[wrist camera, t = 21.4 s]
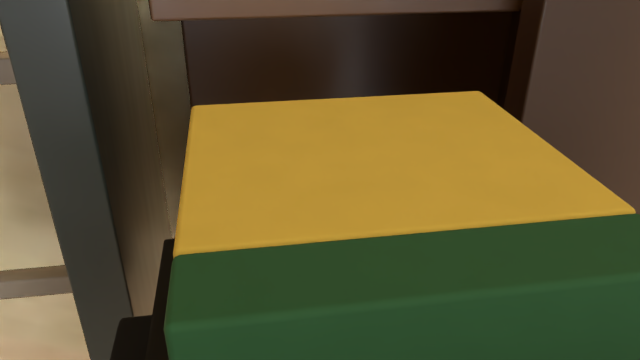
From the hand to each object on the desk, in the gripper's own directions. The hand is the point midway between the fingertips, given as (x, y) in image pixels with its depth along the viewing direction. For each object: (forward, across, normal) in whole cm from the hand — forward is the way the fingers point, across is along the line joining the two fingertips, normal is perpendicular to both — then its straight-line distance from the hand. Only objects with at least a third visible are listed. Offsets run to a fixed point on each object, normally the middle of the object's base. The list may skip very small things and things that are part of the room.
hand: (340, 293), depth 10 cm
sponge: (0, 0, 0) cm, 0 cm away
